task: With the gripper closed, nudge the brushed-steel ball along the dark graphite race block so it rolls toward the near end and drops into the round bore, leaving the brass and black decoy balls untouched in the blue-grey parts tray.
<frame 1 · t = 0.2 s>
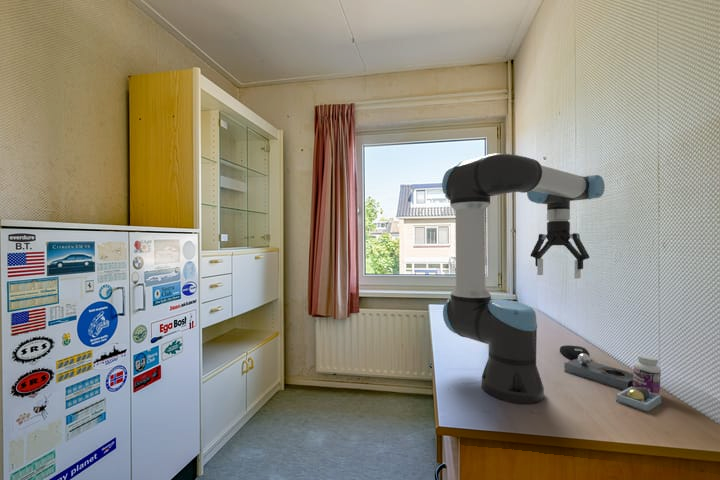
hand: (557, 276, 122), 27 cm above the table, fingers open, 13 cm apart
steel ball: (584, 358, 99), point 4 cm above the table, touching race block
computer mouse: (575, 358, 113), on the table
parts tray: (638, 402, 80), on the table
race block: (600, 377, 95), on the table
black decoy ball: (641, 393, 81), point 2 cm above the table, touching parts tray
pill bottle: (645, 393, 85), on the table
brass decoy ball: (635, 396, 79), point 2 cm above the table, touching parts tray
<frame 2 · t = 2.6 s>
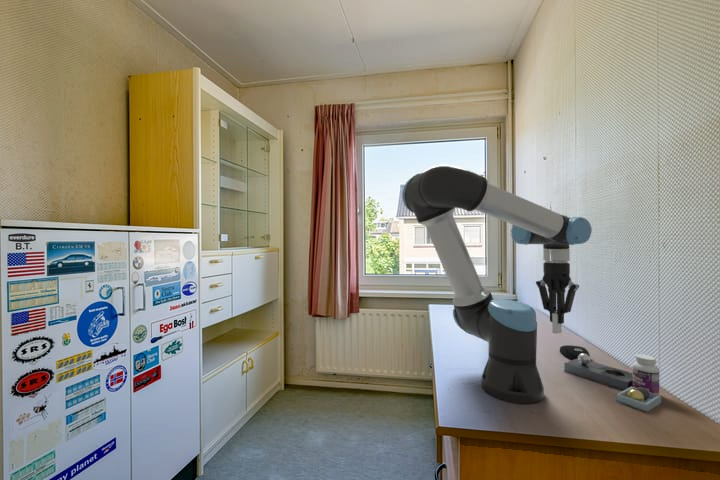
hand: (556, 332, 107), 10 cm above the table, fingers closed
nothing on the table moved.
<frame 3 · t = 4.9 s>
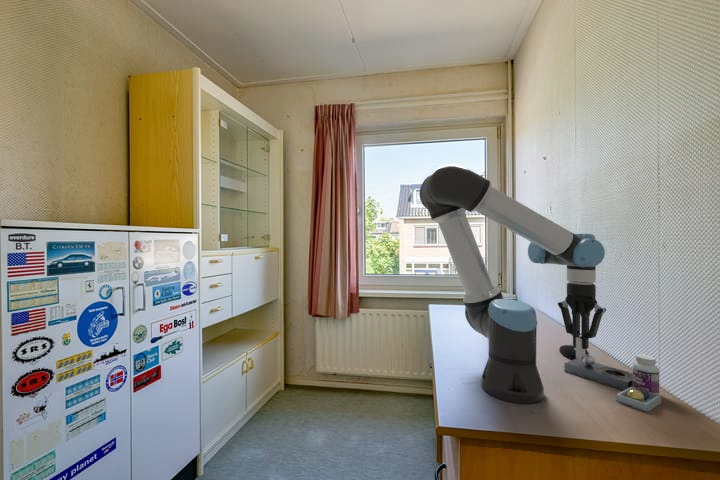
hand: (580, 358, 100), 4 cm above the table, fingers closed
steel ball: (588, 360, 98), point 4 cm above the table, tilted 40°, touching gripper, race block
everything else where it was.
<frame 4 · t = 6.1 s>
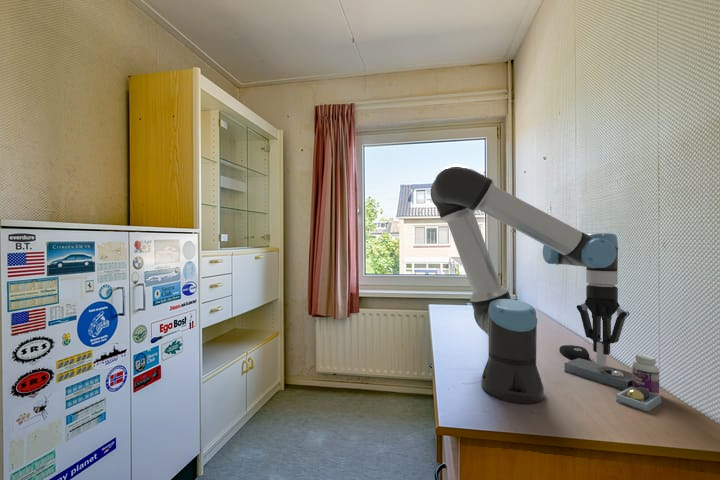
hand: (601, 364, 95), 4 cm above the table, fingers closed
steel ball: (617, 376, 92), point 2 cm above the table, tilted 46°
everything else where it was.
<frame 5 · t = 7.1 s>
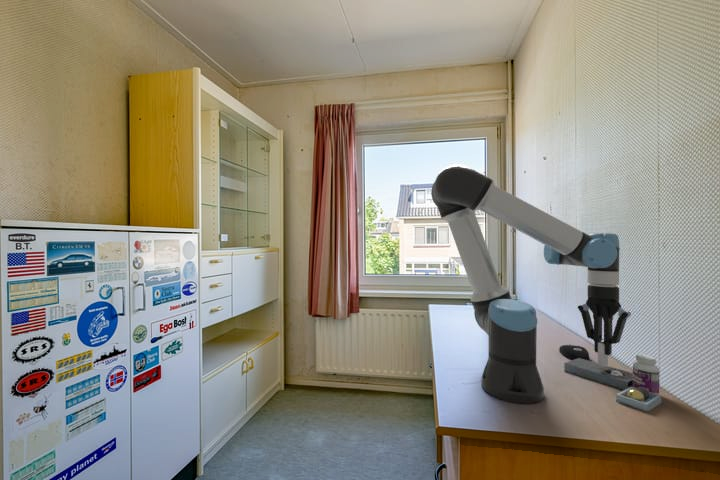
hand: (602, 364, 95), 4 cm above the table, fingers closed
steel ball: (616, 376, 92), point 2 cm above the table, tilted 53°
everything else where it was.
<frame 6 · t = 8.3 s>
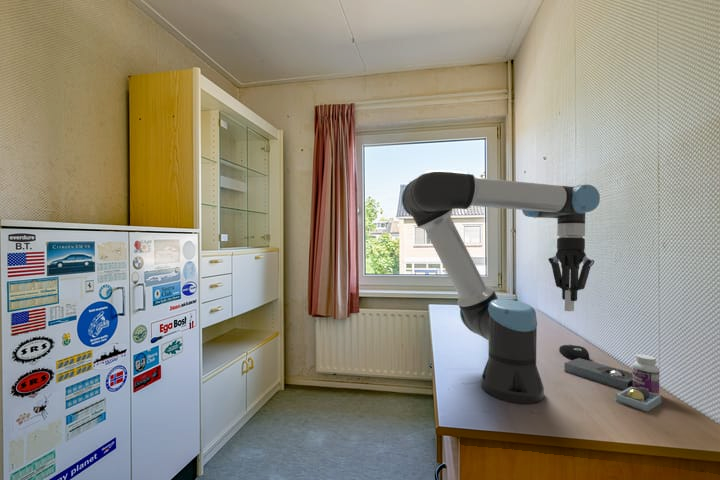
hand: (569, 310, 103), 18 cm above the table, fingers closed
steel ball: (615, 376, 92), point 2 cm above the table, tilted 62°
everything else where it was.
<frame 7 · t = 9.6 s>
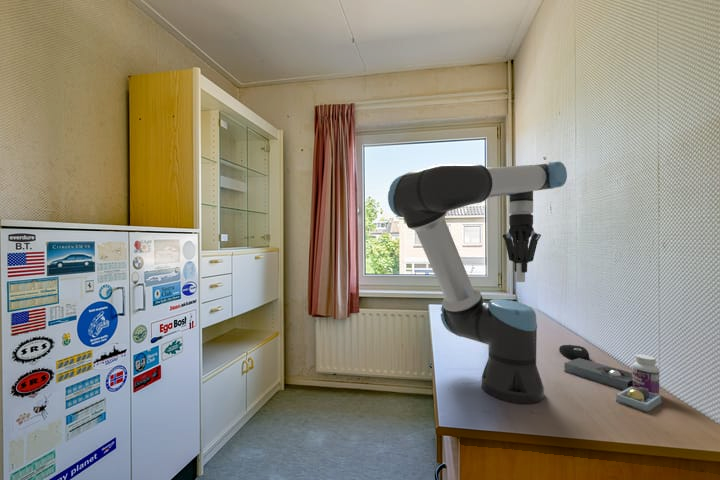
hand: (520, 281, 112), 26 cm above the table, fingers closed
steel ball: (614, 375, 93), point 2 cm above the table, tilted 71°
everything else where it was.
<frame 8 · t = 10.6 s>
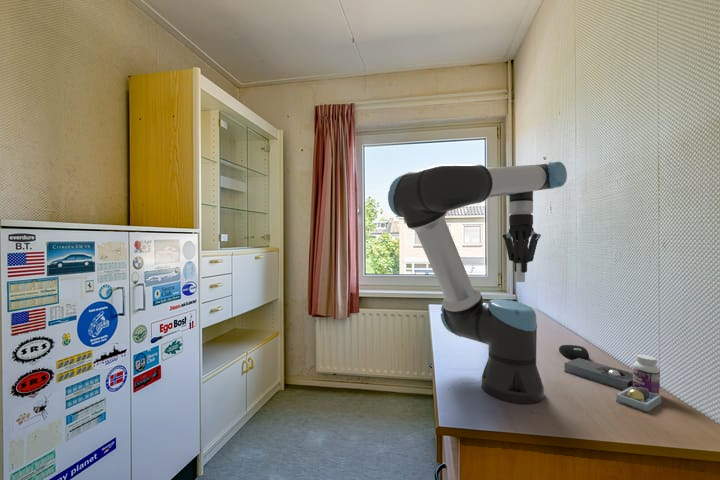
hand: (520, 281, 112), 26 cm above the table, fingers closed
steel ball: (613, 375, 93), point 2 cm above the table, tilted 78°
everything else where it was.
at the end: steel ball 0.3 cm from the target spot in the race block, point 1.6 cm above the race block's base; the gripper is holding nothing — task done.
